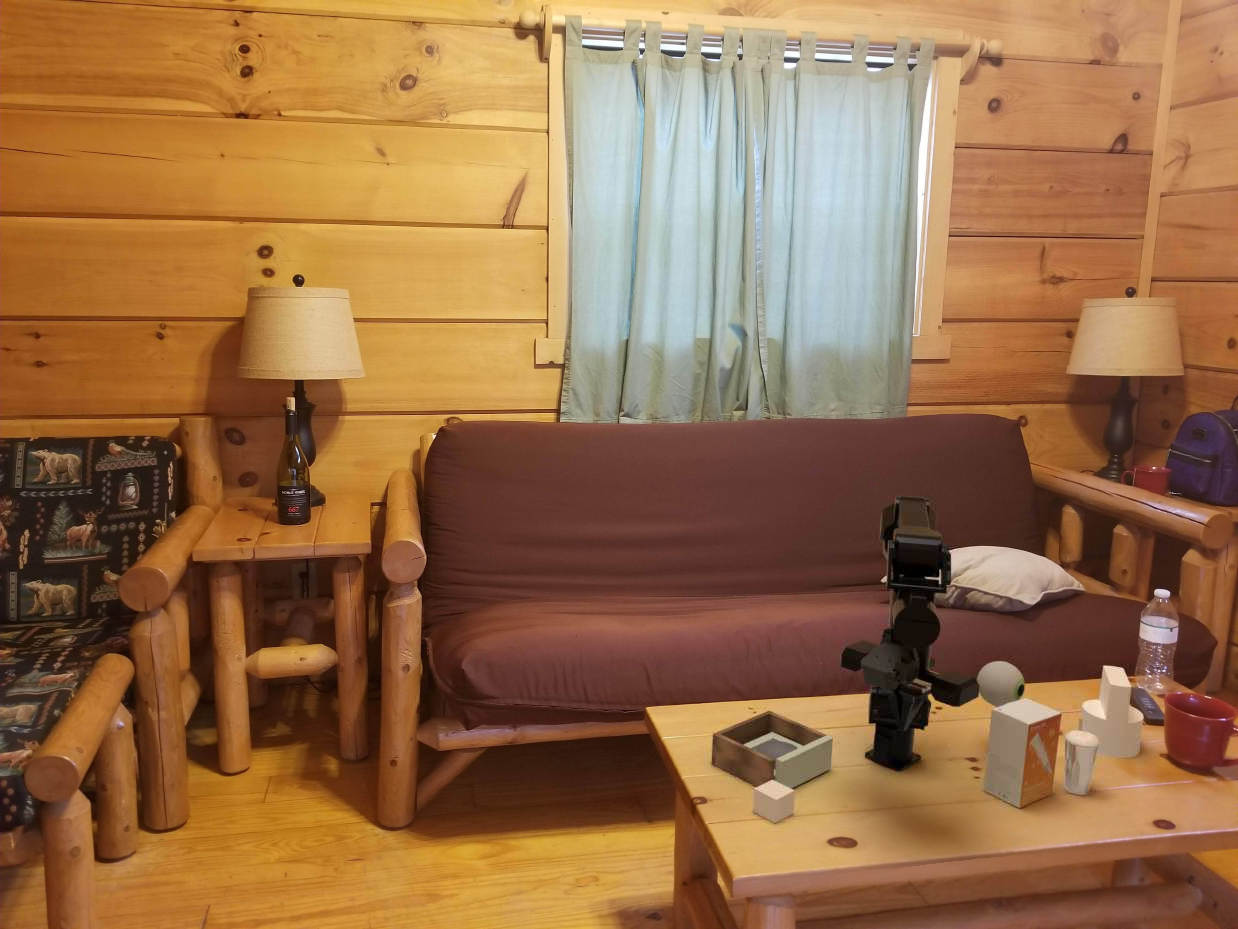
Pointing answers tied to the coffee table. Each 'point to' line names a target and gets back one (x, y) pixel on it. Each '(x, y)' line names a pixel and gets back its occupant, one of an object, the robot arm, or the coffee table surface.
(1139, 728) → the base with upright slab
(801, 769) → the tray
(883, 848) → the coffee table surface
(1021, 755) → the small box
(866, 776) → the coffee table surface
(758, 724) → the holder
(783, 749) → the cylinder
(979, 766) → the coffee table surface
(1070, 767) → the milkshake
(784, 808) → the block
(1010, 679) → the eyeball
